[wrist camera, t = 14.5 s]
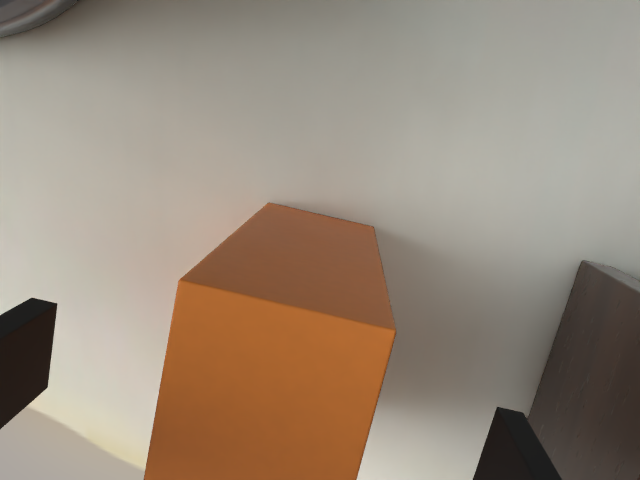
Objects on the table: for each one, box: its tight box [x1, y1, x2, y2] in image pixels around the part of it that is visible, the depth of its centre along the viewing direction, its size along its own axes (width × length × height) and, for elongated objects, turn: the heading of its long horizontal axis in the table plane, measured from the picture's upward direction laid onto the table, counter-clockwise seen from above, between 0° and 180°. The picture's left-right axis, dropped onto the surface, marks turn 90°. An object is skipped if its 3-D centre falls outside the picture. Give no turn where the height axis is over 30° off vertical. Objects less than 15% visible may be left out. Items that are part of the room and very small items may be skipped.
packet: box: [144, 203, 396, 480], centre depth 19 cm, size 5×9×13 cm, turn 167°
